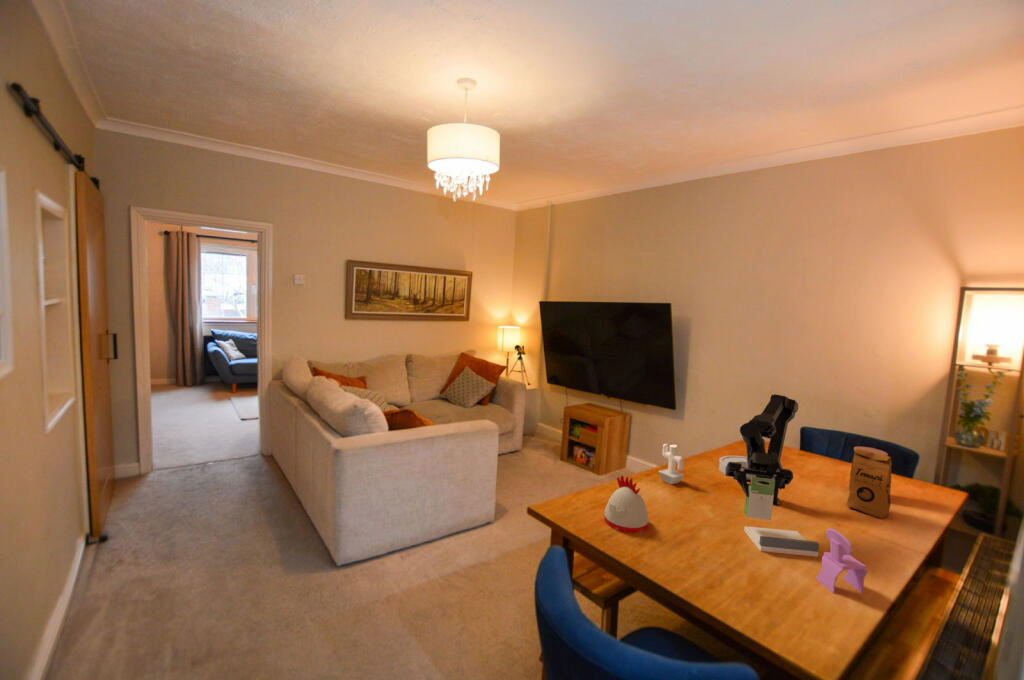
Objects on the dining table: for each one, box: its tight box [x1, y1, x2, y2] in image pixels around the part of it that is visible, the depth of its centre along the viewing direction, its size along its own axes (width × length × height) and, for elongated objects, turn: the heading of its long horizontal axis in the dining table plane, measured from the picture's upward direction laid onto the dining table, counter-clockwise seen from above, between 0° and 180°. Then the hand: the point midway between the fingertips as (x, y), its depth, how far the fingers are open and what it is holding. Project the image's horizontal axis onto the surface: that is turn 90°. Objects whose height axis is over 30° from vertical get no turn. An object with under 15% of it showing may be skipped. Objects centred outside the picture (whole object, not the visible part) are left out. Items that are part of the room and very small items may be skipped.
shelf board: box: [743, 525, 820, 558], centre depth 141 cm, size 12×16×4 cm
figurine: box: [658, 443, 686, 485], centre depth 185 cm, size 7×9×15 cm
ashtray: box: [718, 455, 762, 484], centre depth 199 cm, size 23×23×4 cm
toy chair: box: [815, 527, 868, 594], centre depth 120 cm, size 8×9×15 cm
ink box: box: [743, 477, 775, 521], centre depth 145 cm, size 7×4×13 cm, turn 76°
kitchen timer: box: [603, 475, 649, 534], centre depth 149 cm, size 14×14×15 cm
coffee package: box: [846, 449, 892, 520], centre depth 166 cm, size 10×12×22 cm
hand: (760, 498), depth 143 cm, fingers closed on ink box, 7 cm apart
